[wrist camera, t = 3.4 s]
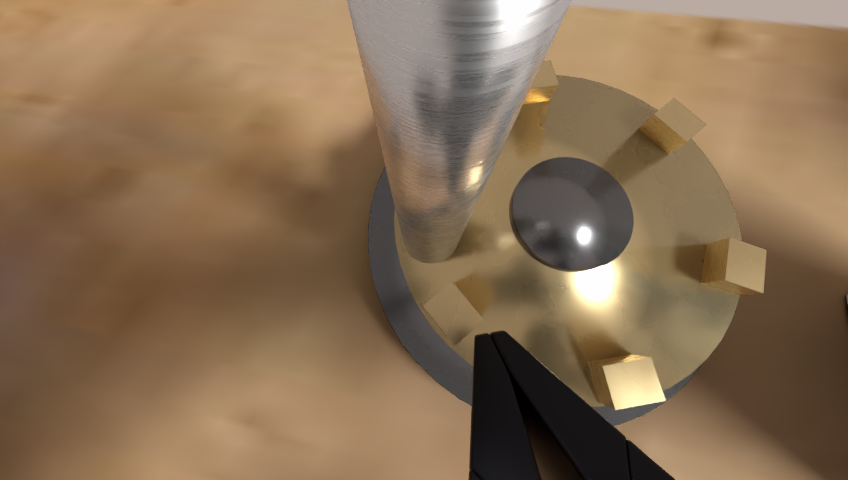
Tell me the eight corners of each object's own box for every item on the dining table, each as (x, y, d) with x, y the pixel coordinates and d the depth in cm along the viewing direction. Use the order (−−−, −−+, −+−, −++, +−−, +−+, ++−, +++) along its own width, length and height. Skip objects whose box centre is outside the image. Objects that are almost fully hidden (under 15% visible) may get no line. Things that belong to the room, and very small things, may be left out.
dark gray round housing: (558, 515, 13) (580, 546, 11) (305, 234, 16) (291, 223, 15) (762, 242, 17) (805, 232, 15) (519, 55, 20) (529, 28, 18)
